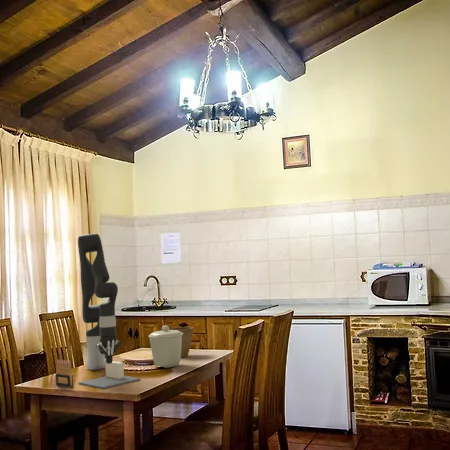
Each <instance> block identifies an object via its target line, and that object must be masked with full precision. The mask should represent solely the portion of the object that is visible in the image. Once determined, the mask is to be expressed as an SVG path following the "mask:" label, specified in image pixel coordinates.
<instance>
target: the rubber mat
mask: <svg viewBox="0 0 450 450" xmlns="http://www.w3.org/2000/svg"><path fill="white" fill-rule="evenodd" d="M139 381H141V378H140V377H133V376H128V375H124V378H120V379H117V378H111V377H106V376H105V375H104V376H102V377H97V378H93V379H92V378H91V379H88V380H83V381H79V382H78V385H82V386H87V387H91V388H95V389H101V390H106V389H110V388H114V387H118V386H122V385H126V384H131V383H134V382H139ZM105 388H106V389H105Z"/></svg>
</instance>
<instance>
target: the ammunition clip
mask: <svg viewBox="0 0 450 450" xmlns="http://www.w3.org/2000/svg"><path fill="white" fill-rule="evenodd" d="M71 363H72V362H71V359H69V360H68V359H63V358H62V359H61V358H56V368H55V370H56V373H55V386H61V387H65V388H66V387H68V388H71V387H74V379H73V378H74V377H73V371H72V364H71Z"/></svg>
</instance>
